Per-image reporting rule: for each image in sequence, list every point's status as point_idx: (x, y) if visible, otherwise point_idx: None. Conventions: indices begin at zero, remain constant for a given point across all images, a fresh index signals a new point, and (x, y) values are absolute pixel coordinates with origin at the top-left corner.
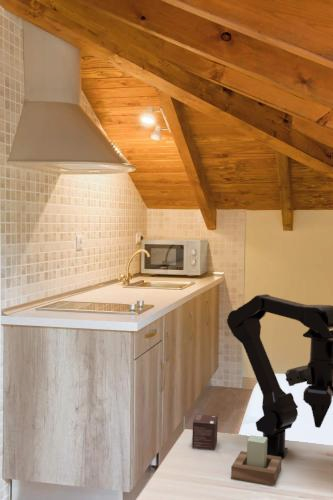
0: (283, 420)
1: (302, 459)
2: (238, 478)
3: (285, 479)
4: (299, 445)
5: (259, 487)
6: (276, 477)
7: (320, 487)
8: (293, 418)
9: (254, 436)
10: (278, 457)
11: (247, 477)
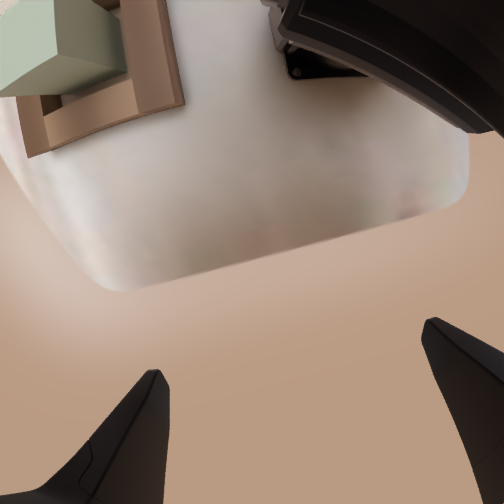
0: (291, 42)
1: (326, 146)
2: None
3: (113, 155)
4: None
5: None
6: (88, 134)
7: (133, 268)
8: (421, 104)
9: (42, 1)
10: (163, 94)
11: None
